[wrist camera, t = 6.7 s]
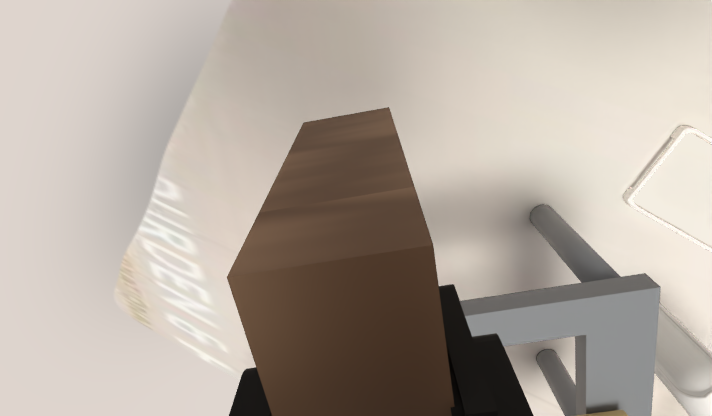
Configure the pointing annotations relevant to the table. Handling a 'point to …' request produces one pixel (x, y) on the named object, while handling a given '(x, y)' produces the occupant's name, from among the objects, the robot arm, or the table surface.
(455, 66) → the table surface
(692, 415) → the photo printer
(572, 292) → the grey open-frame table
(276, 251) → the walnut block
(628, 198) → the phone case
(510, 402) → the robot arm
